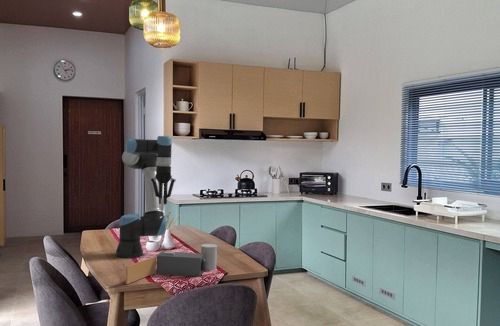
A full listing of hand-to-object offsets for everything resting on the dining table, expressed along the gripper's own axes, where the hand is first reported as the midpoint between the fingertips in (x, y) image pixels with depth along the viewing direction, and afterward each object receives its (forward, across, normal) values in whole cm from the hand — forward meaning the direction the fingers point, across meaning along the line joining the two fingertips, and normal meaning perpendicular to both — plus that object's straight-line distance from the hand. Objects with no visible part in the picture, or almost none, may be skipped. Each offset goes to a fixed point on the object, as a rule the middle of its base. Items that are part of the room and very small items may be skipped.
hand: (162, 210), depth 246 cm
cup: (+30, +25, +1) cm, 39 cm away
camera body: (+29, +13, -10) cm, 34 cm away
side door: (+29, -2, -25) cm, 38 cm away
